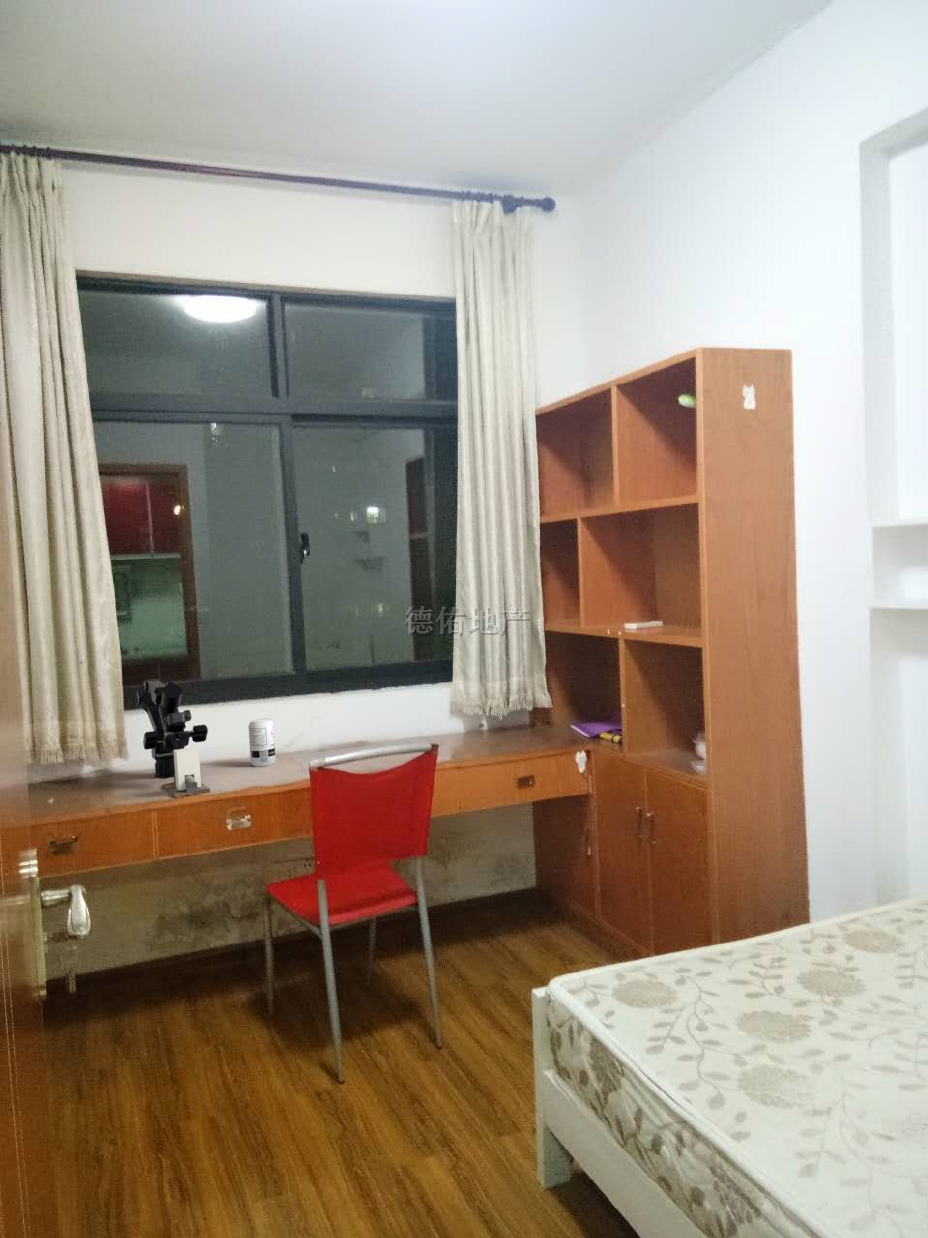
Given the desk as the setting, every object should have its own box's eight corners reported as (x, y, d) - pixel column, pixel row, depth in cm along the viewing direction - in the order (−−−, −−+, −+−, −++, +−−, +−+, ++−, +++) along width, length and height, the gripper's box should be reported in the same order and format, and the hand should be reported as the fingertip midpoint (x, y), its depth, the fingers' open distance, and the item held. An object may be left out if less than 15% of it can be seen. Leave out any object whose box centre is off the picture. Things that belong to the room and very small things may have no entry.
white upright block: (176, 788, 260) (173, 750, 260) (197, 784, 264) (195, 747, 263) (179, 790, 257) (176, 752, 256) (201, 786, 260) (198, 749, 260)
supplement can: (246, 765, 295) (243, 721, 294) (269, 760, 301) (266, 717, 300) (257, 768, 289) (254, 723, 288) (280, 763, 294) (277, 719, 294)
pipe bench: (162, 787, 269) (161, 770, 268) (195, 781, 274) (194, 765, 273) (175, 798, 254) (173, 780, 254) (209, 792, 259) (208, 774, 259)
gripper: (142, 706, 265) (152, 747, 256) (204, 698, 274) (216, 738, 266) (139, 728, 272) (148, 769, 263) (199, 720, 282) (211, 760, 273)
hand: (181, 758), depth 266 cm, fingers closed
